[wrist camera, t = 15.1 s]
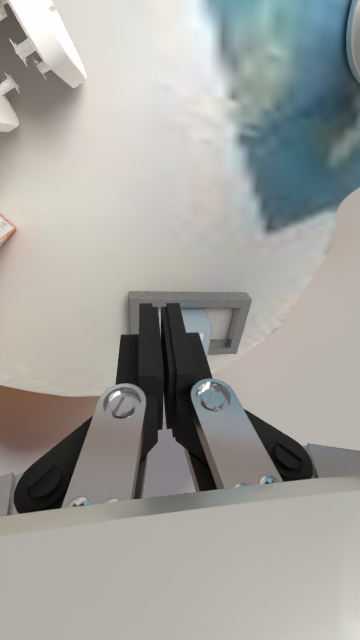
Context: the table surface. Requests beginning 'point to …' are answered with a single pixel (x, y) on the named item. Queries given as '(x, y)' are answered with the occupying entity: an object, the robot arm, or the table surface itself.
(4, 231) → the cracker box
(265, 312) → the table surface
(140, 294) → the grey rectangular frame
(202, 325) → the module
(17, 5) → the cable organizer
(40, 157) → the table surface
